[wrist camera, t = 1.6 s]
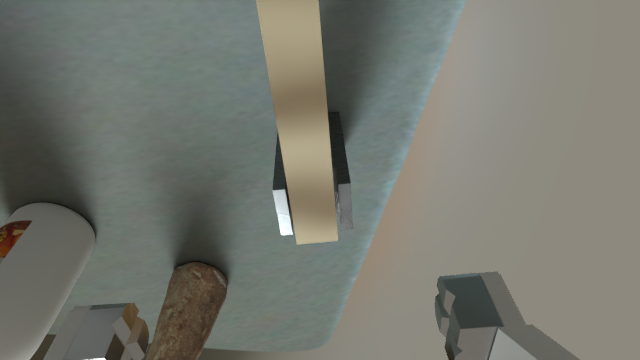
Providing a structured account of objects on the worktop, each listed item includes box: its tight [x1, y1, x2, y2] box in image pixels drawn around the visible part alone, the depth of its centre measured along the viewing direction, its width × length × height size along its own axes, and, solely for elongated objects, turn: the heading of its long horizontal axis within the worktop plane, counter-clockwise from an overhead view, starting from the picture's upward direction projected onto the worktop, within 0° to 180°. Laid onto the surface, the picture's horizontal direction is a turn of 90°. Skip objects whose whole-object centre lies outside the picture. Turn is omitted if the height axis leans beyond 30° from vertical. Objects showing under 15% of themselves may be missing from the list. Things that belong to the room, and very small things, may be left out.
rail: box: [256, 0, 338, 244], centre depth 22 cm, size 22×3×3 cm, turn 5°
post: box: [272, 112, 353, 235], centre depth 31 cm, size 4×5×10 cm
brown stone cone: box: [146, 262, 227, 360], centre depth 39 cm, size 6×18×6 cm
